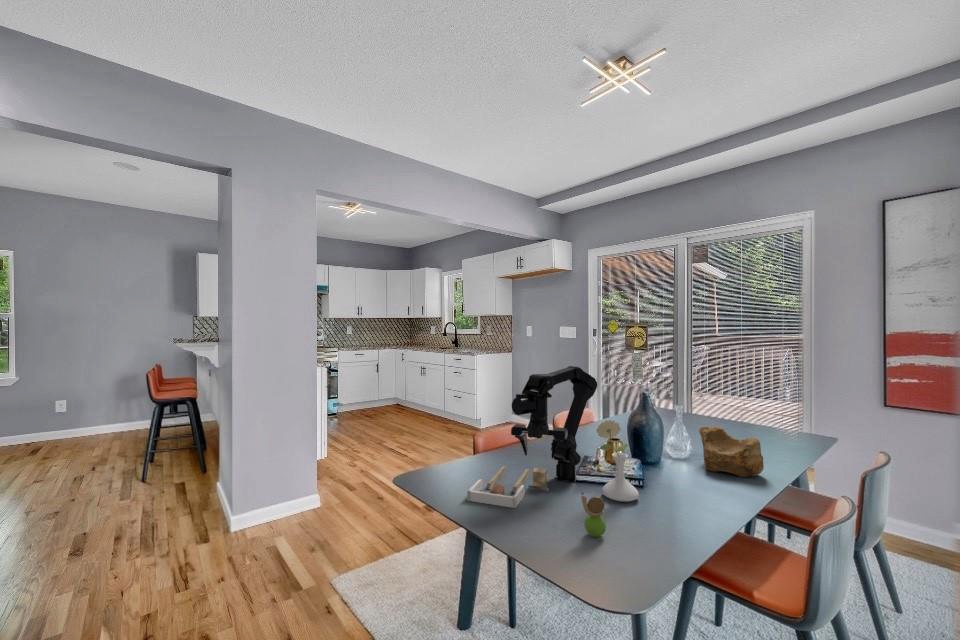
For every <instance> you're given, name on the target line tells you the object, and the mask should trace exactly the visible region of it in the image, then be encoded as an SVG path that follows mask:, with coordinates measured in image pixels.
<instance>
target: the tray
mask: <svg viewBox="0 0 960 640" xmlns="http://www.w3.org/2000/svg"><path fill="white" fill-rule="evenodd" d="M481 490H483V479H481V478H479V479H478V480H477V481H476V482H475V483H474V484H473V485H471V487H470V488H469V489H468V490H467V496H466V497H467V500H466V501H469V502H475V503H482V504H485V505H486V504H488V505H495V506H499V507H500V506H501V507H507V508H512V509H516V508H517V506H518V505H519V503H520V502H521V501H522V499H523V498H524V496H525V494H526V491H525V484H523V485H521V486H520V488H519V489H518V491H517V492H516V493H514V495H512V496H511V495H505V494H504V495H499V494H492V493H490V492H486V491H485V492H484V491H481Z"/></svg>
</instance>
